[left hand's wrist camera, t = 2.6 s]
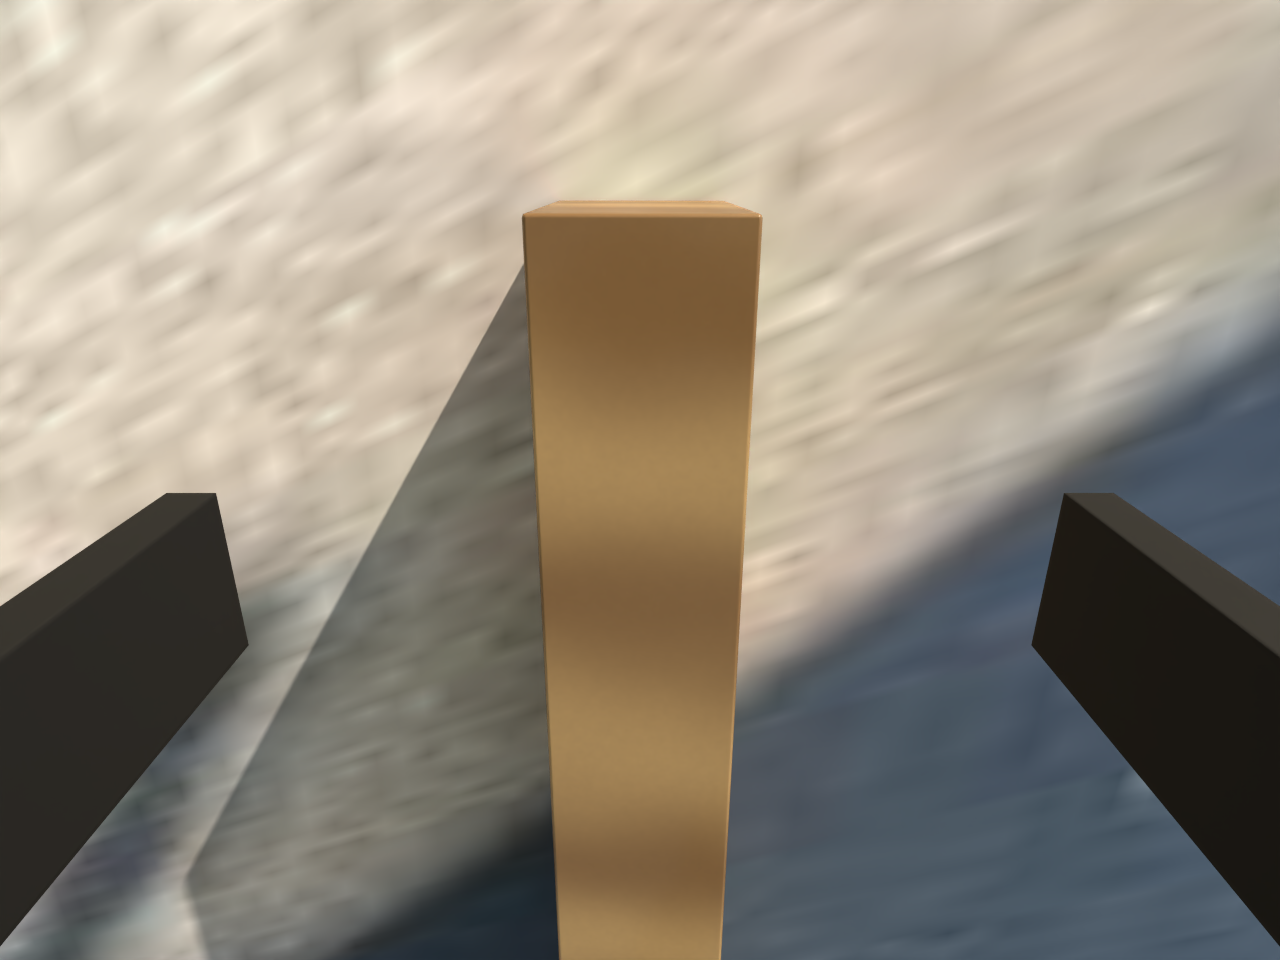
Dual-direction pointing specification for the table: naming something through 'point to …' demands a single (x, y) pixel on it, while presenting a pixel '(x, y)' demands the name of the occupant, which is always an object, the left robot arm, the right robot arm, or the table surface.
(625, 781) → the beam
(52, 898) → the table surface
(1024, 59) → the table surface
